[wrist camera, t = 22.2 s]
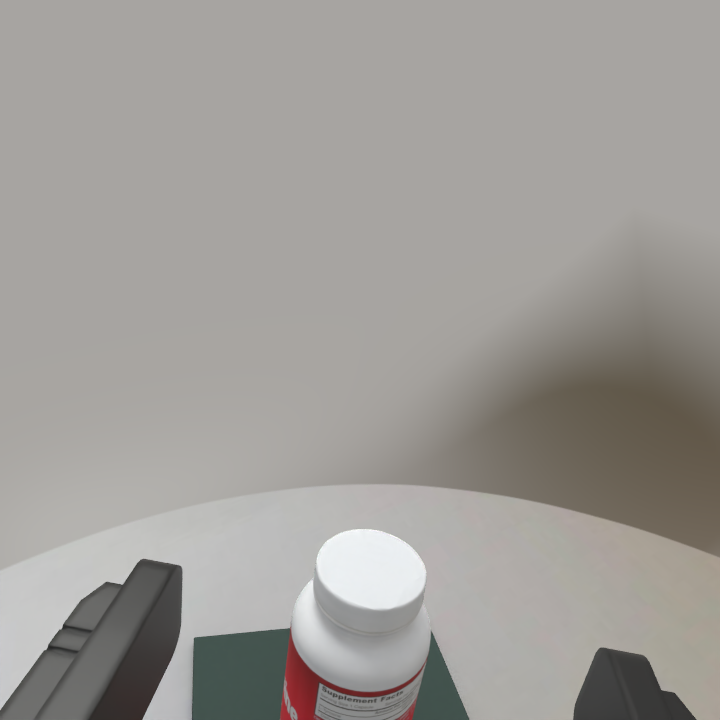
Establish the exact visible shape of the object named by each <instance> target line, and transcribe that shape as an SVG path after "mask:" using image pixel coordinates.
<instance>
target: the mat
mask: <svg viewBox="0 0 720 720" xmlns="http://www.w3.org/2000/svg"><path fill="white" fill-rule="evenodd" d="M289 637H290V628H288V629H278V630H268V631H258V632H247V633H237V634H227V635H217V636H206V637H196V638H194V657H193V704H192V720H280V714H281V705H282V697H283V688H284V680H285V671H286V663H287V654H288V646H289ZM412 720H469V718H468V715H467V713H466V711H465V708H464V706H463V703H462V701H461V699H460V696H459V694H458V692H457V689H456V687H455V685H454V682H453V680H452V678H451V675H450V673H449V671H448V668H447V666H446V664H445V661H444V659H443V657H442V654H441V652H440V650H439V647H438V645H437V643H436V640H435V638H434V636H433V633H432V631H431V639H430V647H429V654H428V657H427V662H426V665H425V669H424V673H423V677H422V681H421V685H420V688H419V692H418V696H417V700H416V705H415V709H414V713H413V718H412Z"/></svg>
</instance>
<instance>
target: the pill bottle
mask: <svg viewBox="0 0 720 720" xmlns="http://www.w3.org/2000/svg"><path fill="white" fill-rule="evenodd" d="M426 580H427V576H426V569H425V566H424V564H423V562H422V560H421V558H420V557H419V555H418V554H417V553H416V551H415V550H414V549H413V548H412V547H411V546H409V545H408V544H407V543H405V542H404V541H402V540H401V539H399V538H397V537H395V536H393V535H391V534H388V533H385V532H382V531H377V530H370V529H356V530H349V531H345V532H342V533H339V534H337V535H335V536H333V537H332V538H330V539H329V540H328V541H327V542H326V543H325V544H324V545H323V546H322V547H321V549H320V551H319V553H318V556H317V559H316V566H315V571H314V578H313V579H312V580H311V581H310V582H309V583H308V584H307V585H306V586H305V587H304V589H303V590H302V592H301V593H300V595H299V597H298V599H297V601H296V603H295V606H294V610H293V614H292V620H291V627H290V637H289V646H288V654H287V663H286V671H285V680H284V688H283V697H282V705H281V714H280V720H412V718H413V713H414V709H415V705H416V700H417V696H418V692H419V688H420V685H421V681H422V677H423V673H424V669H425V665H426V662H427V657H428V654H429V647H430V639H431V626H430V620H429V616H428V613H427V610H426V608H425V606H424V604H423V599H424V591H425V586H426Z"/></svg>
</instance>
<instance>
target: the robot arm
mask: <svg viewBox="0 0 720 720" xmlns="http://www.w3.org/2000/svg"><path fill="white" fill-rule="evenodd" d="M181 608H182V567H181V566H179V565H174V564H169V563H163V562H158V561H153V560H148V559H142V560H140V561H139V562H138V563H137V565H136V566H135V568H134V569H133V571H132V572H131V574H130V575H129V577H128V578H127V580H126V581H125V583H124V584H123V585H121V584H115V583H110V582H106V583H104V584H103V585H102V586H100V587H99V588H97V589H96V590H95V591H93V592H92V593H90V594H89V595H88V596H86V597H85V598H84V599H82V600H81V601H80V602H79V604H78V605H77V606H76V608H75V609H74V611H73V612H72V613H71V615H70V616H69V617H68V619H67V620H66V621H65V623H64V624H63V628H62V629H61V630H59V631H58V632H57V634H56V635H55V636H54V638H53V639H52V641H51V642H50V643H49V645H48V648H47V650H44V651H43V653H42V654H41V656H40V657H39V658H38V660H37V661H36V662H35V664H34V665H33V666H32V668H31V669H30V671H29V672H28V673H27V675H26V676H25V677H24V679H23V680H22V681H21V683H20V684H19V686H18V687H17V688H16V690H15V691H14V692H13V694H12V695H11V696H10V698H9V699H8V701H7V702H6V703H5V705H4V706H3V707H2V709H1V710H0V720H142V719H143V717H144V715H145V712H146V710H147V708H148V706H149V704H150V702H151V700H152V698H153V696H154V694H155V692H156V690H157V688H158V685H159V683H160V681H161V679H162V677H163V675H164V673H165V671H166V669H167V667H168V665H169V663H170V661H171V658H172V656H173V654H174V651H175V648H176V645H177V642H178V638H179V633H180V628H181ZM573 720H696V719H695V717H694V716H693V715H692V714H691V712H690V711H689V710H688V709H687V708H686V706H685V705H684V704H683V703H682V701H681V700H680V699H679V698H678V697H677V695H676V694H675V693H672V692H667V691H662V690H661V689H660V686H659V684H658V681H657V679H656V677H655V674H654V672H653V670H652V667H651V665H650V663H649V661H648V660H647V658H646V657H645V656H643V655H639V654H634V653H628V652H623V651H618V650H613V649H607V648H600V649H598V651H597V652H596V654H595V656H594V659H593V661H592V664H591V666H590V669H589V671H588V674H587V676H586V678H585V681H584V683H583V686H582V688H581V691H580V693H579V696H578V698H577V701H576V704H575V709H574V719H573Z"/></svg>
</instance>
